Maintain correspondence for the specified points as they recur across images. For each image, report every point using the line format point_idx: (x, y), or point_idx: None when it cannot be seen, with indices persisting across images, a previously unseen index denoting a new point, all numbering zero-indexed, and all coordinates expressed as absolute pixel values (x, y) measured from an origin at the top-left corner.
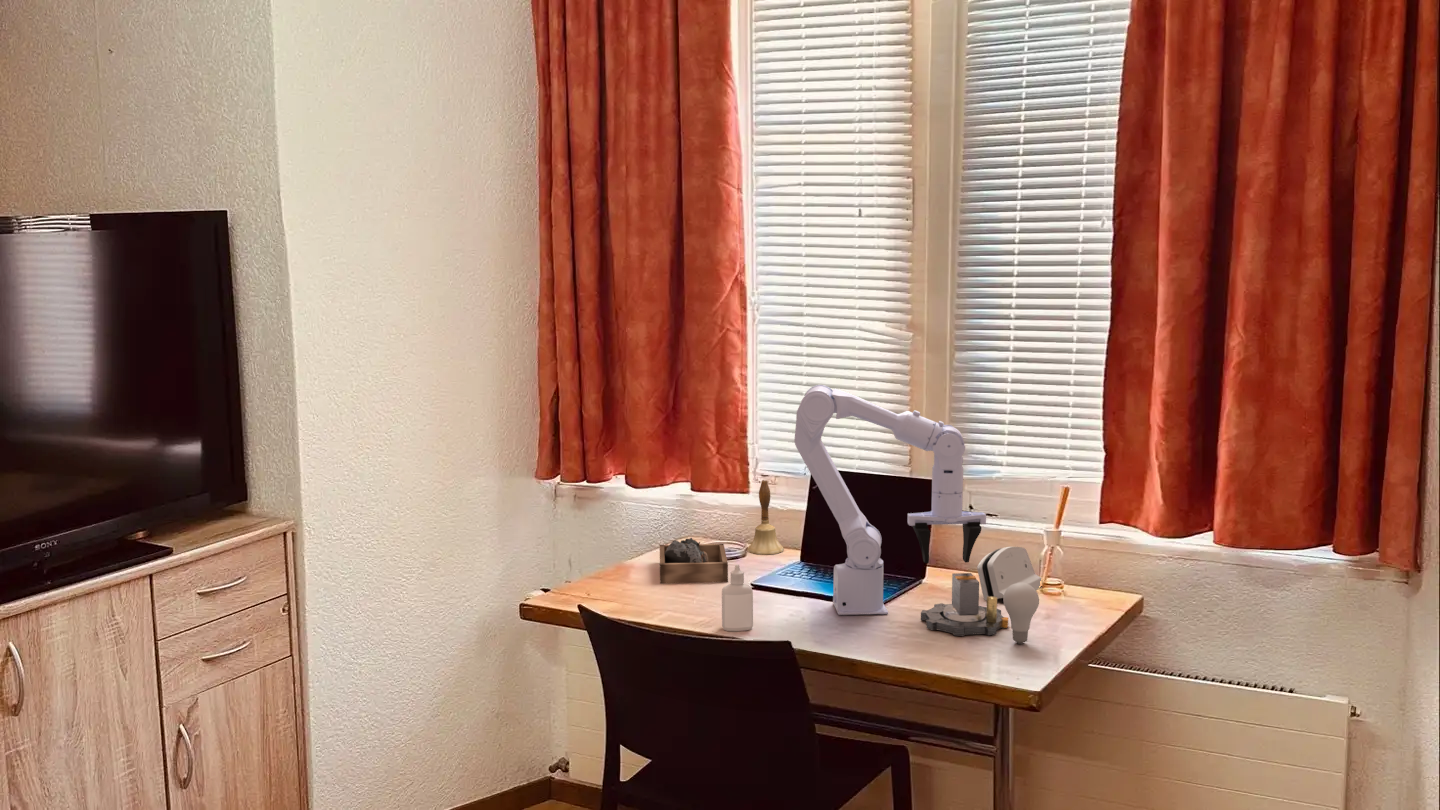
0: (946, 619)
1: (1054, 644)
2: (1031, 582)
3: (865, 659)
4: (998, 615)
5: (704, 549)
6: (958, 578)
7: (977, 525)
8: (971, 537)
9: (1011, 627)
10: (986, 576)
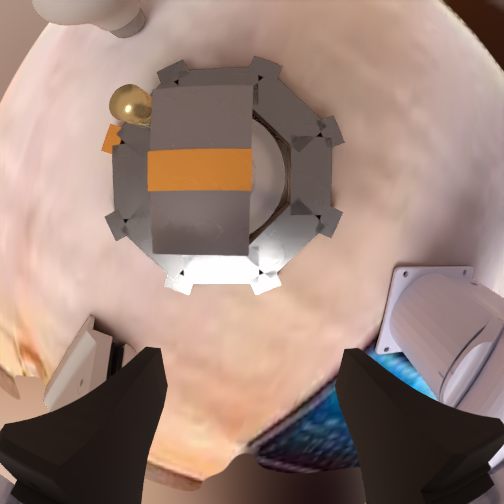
0: (285, 138)
1: (70, 39)
2: (51, 387)
3: (460, 24)
4: (120, 167)
5: None
6: (243, 149)
7: (28, 486)
8: (77, 425)
9: (139, 7)
10: None
